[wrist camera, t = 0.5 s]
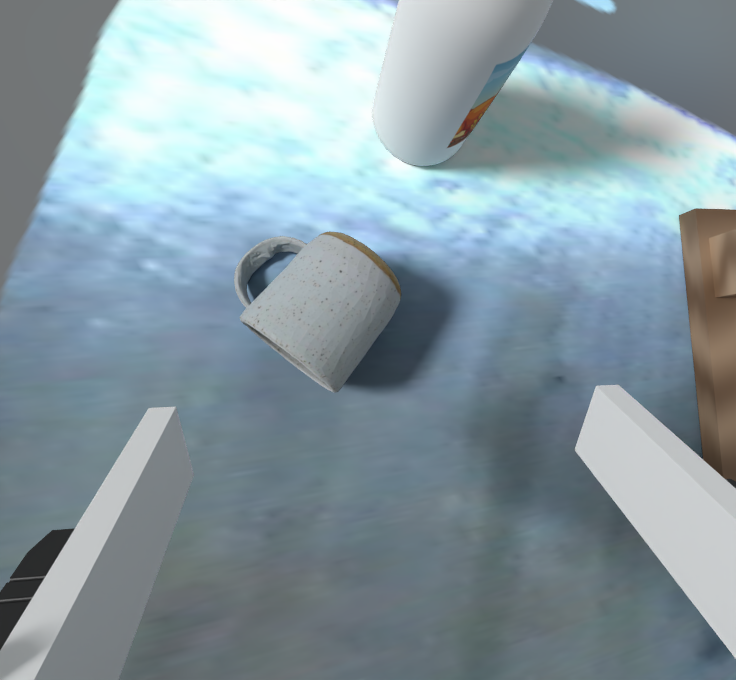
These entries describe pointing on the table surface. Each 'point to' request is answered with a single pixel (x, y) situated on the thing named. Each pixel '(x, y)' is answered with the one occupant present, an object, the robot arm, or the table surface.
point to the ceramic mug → (320, 303)
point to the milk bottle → (447, 71)
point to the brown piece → (713, 328)
